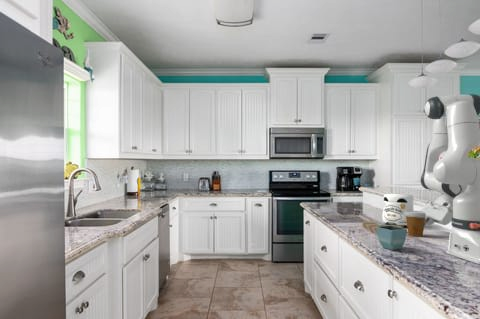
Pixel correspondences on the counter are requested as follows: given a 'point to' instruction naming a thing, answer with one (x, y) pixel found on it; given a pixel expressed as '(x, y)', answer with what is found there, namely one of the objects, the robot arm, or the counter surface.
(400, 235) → the flower pot
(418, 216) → the disposable coffee cup
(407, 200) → the milk container
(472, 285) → the counter surface
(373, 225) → the walnut T block
